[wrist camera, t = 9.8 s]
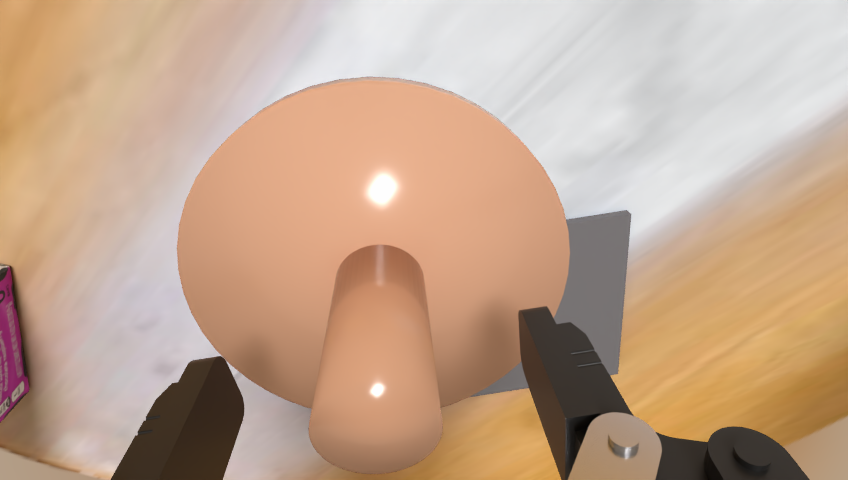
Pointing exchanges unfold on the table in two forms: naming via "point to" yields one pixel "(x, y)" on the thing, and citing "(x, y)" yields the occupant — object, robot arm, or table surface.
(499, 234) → the lid
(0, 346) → the candy bar box
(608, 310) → the mat
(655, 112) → the table surface
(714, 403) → the table surface
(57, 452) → the table surface
